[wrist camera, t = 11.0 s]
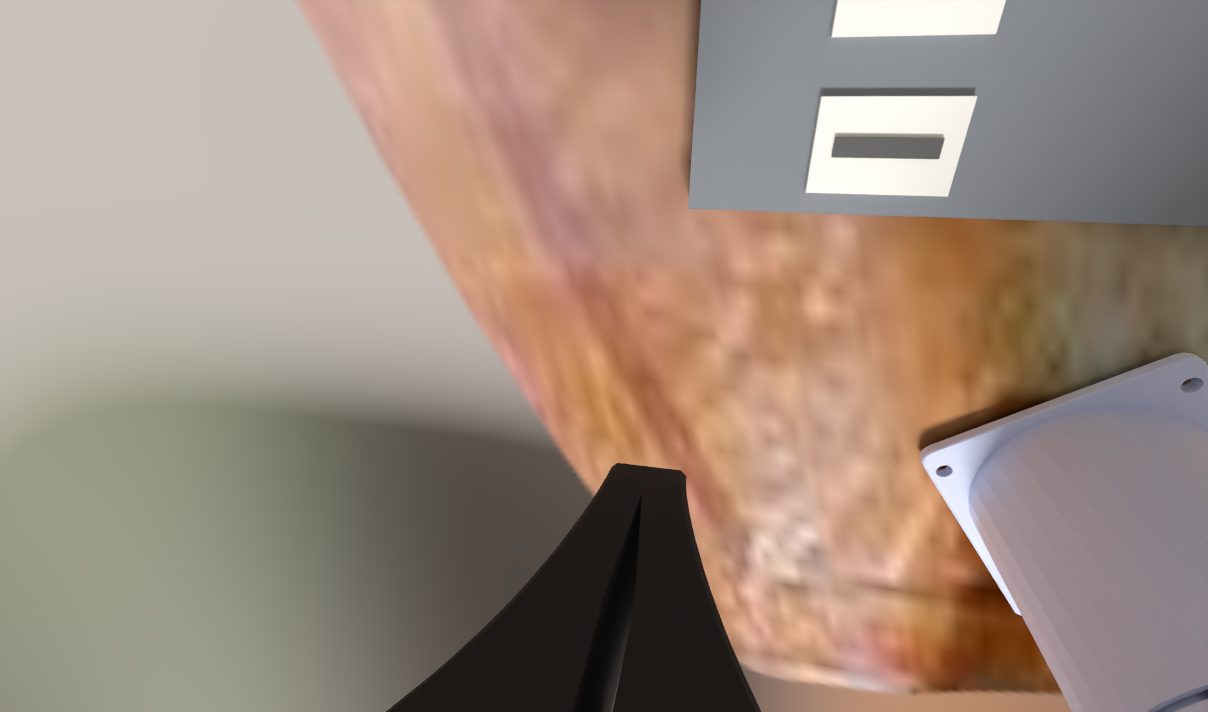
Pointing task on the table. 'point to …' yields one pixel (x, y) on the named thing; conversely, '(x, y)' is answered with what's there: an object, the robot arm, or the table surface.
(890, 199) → the label board
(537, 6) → the table surface
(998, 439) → the robot arm
